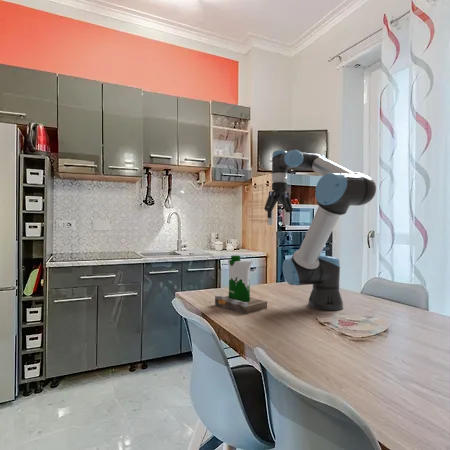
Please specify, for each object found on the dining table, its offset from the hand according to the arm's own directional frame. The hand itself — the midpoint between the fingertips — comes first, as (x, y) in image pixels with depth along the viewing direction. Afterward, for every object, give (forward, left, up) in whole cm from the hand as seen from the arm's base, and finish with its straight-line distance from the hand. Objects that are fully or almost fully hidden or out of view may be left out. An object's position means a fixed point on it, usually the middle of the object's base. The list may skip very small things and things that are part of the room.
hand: (278, 225), depth 164 cm
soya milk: (+1, +27, -34) cm, 43 cm away
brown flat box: (+1, +26, -37) cm, 45 cm away
